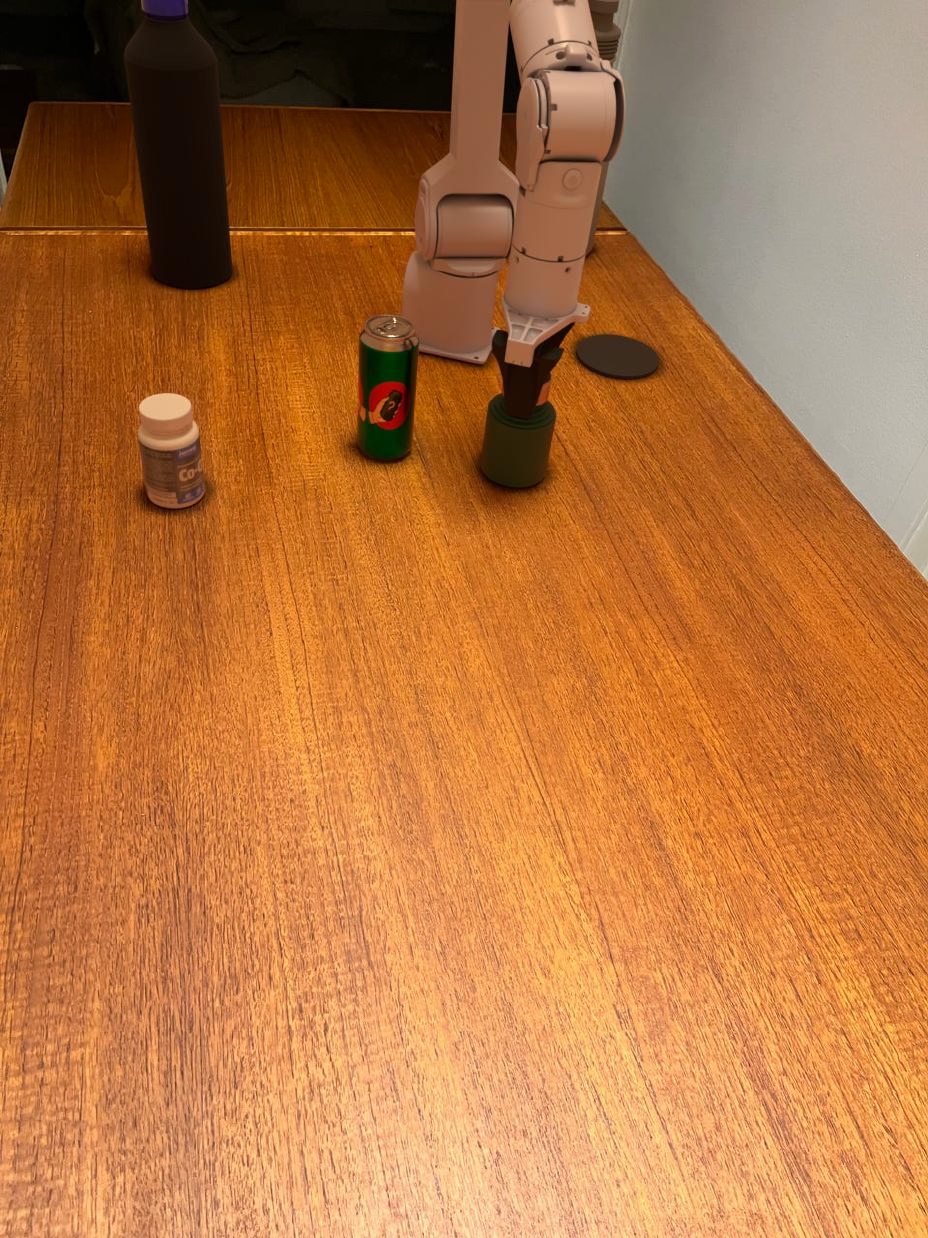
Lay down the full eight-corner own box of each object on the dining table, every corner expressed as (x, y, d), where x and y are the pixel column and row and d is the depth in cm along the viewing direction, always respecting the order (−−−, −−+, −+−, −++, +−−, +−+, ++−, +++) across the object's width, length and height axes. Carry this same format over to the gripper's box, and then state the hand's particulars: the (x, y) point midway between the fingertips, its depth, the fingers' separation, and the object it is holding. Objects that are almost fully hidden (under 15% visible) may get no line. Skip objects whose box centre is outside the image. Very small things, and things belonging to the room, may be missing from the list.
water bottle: (502, 232, 127) (533, -19, 107) (567, 226, 130) (608, -19, 111) (539, 265, 120) (579, 5, 101) (606, 258, 124) (657, 5, 105)
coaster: (569, 368, 103) (569, 365, 102) (583, 330, 109) (583, 327, 109) (653, 386, 102) (654, 383, 101) (662, 347, 108) (663, 344, 108)
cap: (552, 388, 84) (556, 367, 83) (542, 411, 81) (546, 390, 80) (507, 378, 84) (510, 357, 83) (496, 400, 82) (499, 379, 80)
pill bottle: (192, 514, 79) (181, 427, 74) (137, 503, 80) (122, 415, 74) (214, 482, 83) (205, 395, 77) (161, 471, 83) (149, 384, 77)
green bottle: (473, 478, 86) (484, 389, 80) (488, 442, 91) (500, 355, 84) (538, 493, 86) (555, 405, 79) (551, 457, 90) (568, 370, 84)
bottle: (248, 271, 112) (231, -13, 93) (194, 296, 106) (163, 0, 87) (191, 248, 115) (163, -32, 95) (135, 272, 109) (93, -21, 90)
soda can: (423, 449, 89) (432, 329, 81) (383, 470, 86) (389, 347, 78) (385, 425, 92) (390, 306, 83) (345, 445, 89) (346, 323, 80)
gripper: (584, 296, 68) (553, 457, 78) (614, 221, 79) (584, 371, 88) (487, 276, 69) (468, 437, 79) (530, 204, 79) (509, 354, 89)
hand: (524, 401), depth 83 cm, fingers closed on cap, 4 cm apart
